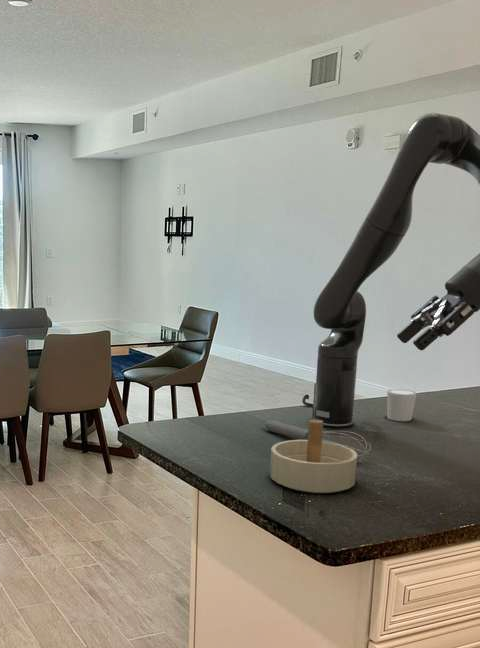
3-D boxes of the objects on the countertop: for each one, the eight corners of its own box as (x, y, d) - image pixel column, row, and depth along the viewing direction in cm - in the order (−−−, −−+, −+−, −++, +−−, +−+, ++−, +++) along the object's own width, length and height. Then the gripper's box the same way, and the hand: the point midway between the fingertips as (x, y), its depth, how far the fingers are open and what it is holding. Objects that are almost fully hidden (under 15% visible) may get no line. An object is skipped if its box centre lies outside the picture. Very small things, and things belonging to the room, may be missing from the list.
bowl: (256, 471, 142) (257, 442, 141) (326, 465, 145) (328, 437, 144) (294, 498, 127) (296, 467, 126) (372, 491, 130) (374, 460, 129)
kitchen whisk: (273, 426, 174) (274, 402, 173) (376, 467, 144) (379, 437, 142) (252, 429, 172) (254, 404, 170) (353, 471, 142) (355, 441, 140)
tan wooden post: (296, 475, 138) (299, 418, 135) (316, 473, 138) (320, 417, 136) (307, 482, 133) (311, 424, 131) (328, 480, 134) (333, 423, 132)
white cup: (418, 421, 177) (421, 394, 176) (391, 422, 177) (394, 394, 176) (406, 414, 184) (409, 388, 182) (380, 415, 184) (382, 389, 182)
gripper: (450, 263, 132) (382, 324, 136) (485, 266, 119) (408, 334, 122) (476, 291, 133) (408, 351, 137) (514, 298, 119) (437, 364, 123)
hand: (408, 343), depth 130 cm, fingers open, 8 cm apart
